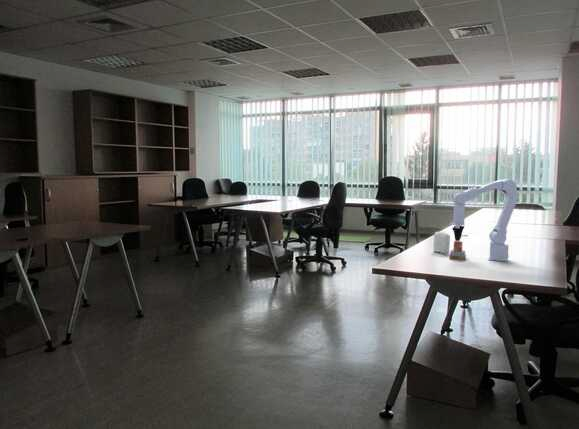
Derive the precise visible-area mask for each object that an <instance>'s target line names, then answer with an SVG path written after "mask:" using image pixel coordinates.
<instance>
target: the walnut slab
mask: <svg viewBox="0 0 579 429" xmlns="http://www.w3.org/2000/svg"><path fill="white" fill-rule="evenodd" d="M466 258H467V254H465V256H464V257H460V256H450V255H449V260H454V259H457V261H458V260H459V261H465V260H466Z"/></svg>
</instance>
